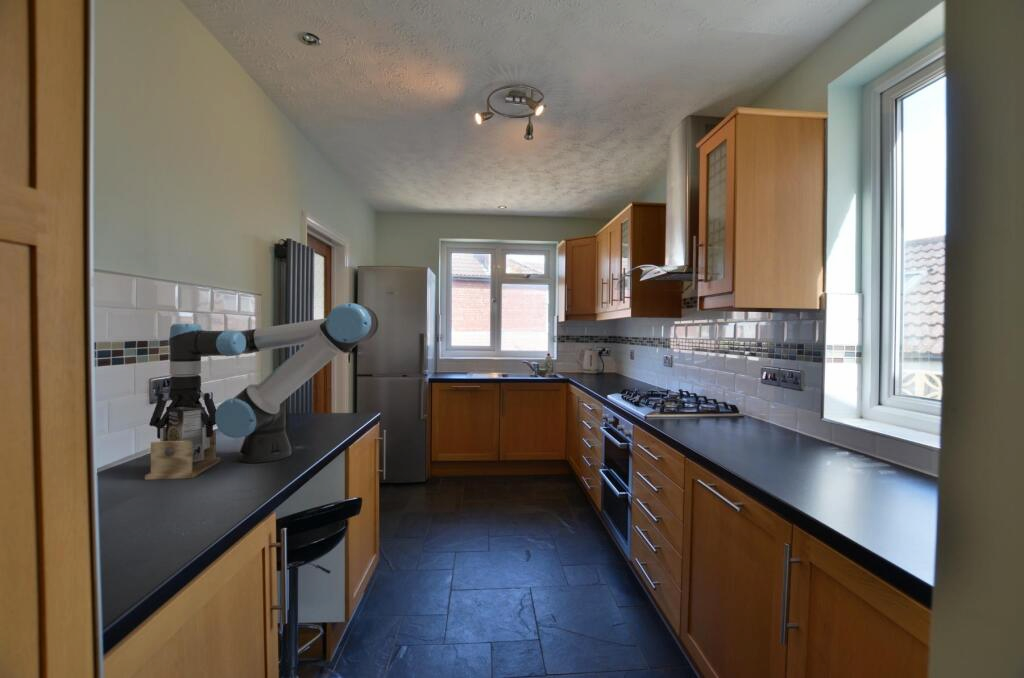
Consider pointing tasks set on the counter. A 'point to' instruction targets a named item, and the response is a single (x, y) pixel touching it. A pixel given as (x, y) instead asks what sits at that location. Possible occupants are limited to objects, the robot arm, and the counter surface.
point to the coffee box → (186, 428)
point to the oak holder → (179, 459)
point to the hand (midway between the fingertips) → (185, 448)
